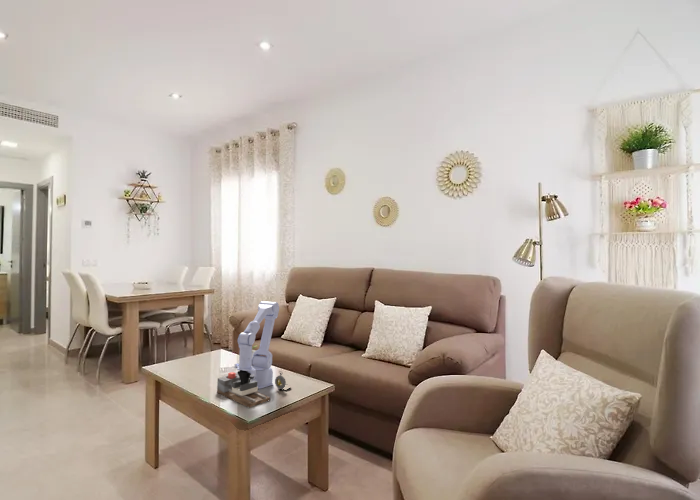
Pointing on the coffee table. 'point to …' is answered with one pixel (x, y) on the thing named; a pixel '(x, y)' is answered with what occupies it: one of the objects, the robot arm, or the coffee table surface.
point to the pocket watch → (280, 381)
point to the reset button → (231, 375)
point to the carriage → (244, 387)
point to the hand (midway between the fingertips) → (244, 385)
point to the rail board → (247, 400)
